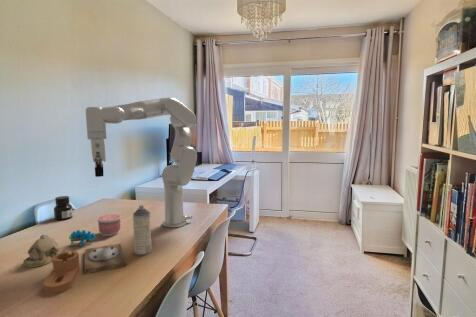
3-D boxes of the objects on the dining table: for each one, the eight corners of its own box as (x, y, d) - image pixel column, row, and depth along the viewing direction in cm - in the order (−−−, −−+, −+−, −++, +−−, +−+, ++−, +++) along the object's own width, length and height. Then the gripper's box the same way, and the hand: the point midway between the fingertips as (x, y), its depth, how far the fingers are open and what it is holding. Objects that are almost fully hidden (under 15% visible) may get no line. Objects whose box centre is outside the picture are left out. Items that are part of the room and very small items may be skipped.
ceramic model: (41, 252, 133) (39, 229, 131) (67, 252, 133) (66, 229, 131) (17, 267, 119) (15, 242, 117) (47, 268, 119) (45, 242, 117)
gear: (99, 236, 145) (89, 227, 137) (97, 249, 141) (85, 240, 134) (76, 239, 146) (64, 230, 138) (73, 252, 142) (60, 243, 134)
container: (113, 238, 148) (112, 221, 147) (93, 236, 150) (92, 220, 150) (125, 230, 159) (124, 214, 158) (106, 228, 161) (106, 213, 160)
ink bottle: (66, 220, 173) (65, 199, 172) (50, 220, 173) (49, 199, 172) (76, 215, 183) (74, 195, 181) (60, 215, 183) (59, 195, 182)
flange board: (120, 246, 138) (120, 240, 138) (125, 265, 120) (125, 258, 120) (85, 252, 132) (84, 245, 132) (84, 273, 114) (84, 265, 114)
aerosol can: (153, 248, 136) (151, 203, 133) (148, 255, 129) (147, 208, 127) (137, 248, 136) (135, 203, 133) (132, 255, 129) (130, 208, 127)
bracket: (57, 270, 117) (56, 252, 116) (82, 267, 119) (81, 250, 118) (40, 296, 100) (38, 275, 99) (69, 292, 102) (67, 272, 101)
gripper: (106, 136, 130) (109, 177, 132) (106, 134, 146) (108, 170, 148) (86, 137, 127) (89, 178, 129) (88, 135, 143) (90, 172, 145)
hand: (99, 174), depth 139 cm, fingers open, 9 cm apart
